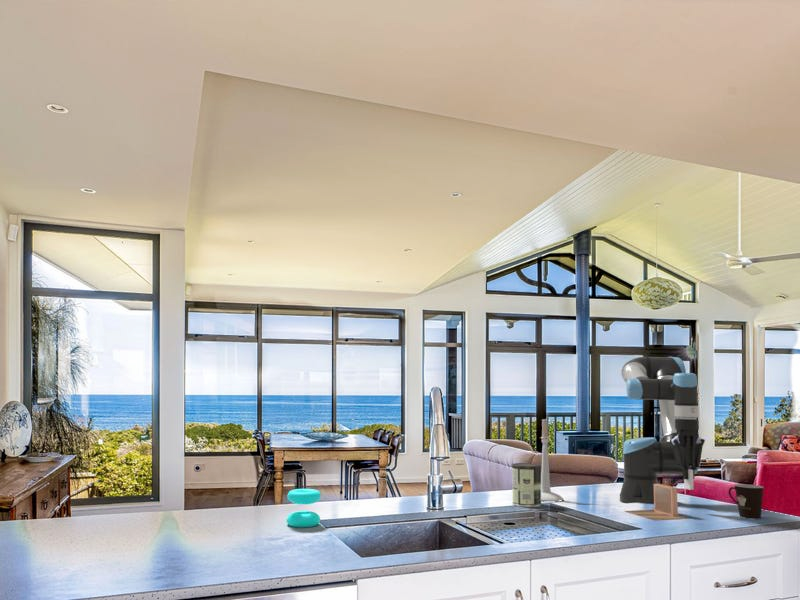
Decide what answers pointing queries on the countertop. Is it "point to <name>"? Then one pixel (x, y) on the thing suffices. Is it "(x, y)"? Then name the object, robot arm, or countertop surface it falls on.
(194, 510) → the countertop surface
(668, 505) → the tile
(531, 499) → the coffee can
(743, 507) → the coffee mug
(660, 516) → the board
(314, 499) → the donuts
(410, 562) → the countertop surface
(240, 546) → the countertop surface
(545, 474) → the candlestick
